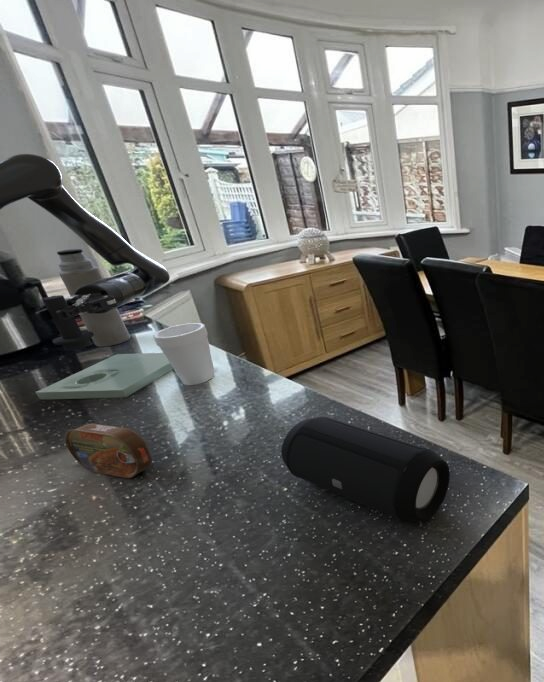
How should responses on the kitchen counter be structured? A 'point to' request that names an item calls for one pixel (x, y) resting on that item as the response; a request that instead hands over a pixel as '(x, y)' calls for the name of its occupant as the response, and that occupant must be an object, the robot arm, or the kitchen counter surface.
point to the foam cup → (187, 351)
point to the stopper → (66, 326)
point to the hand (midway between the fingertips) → (49, 316)
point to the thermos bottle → (103, 325)
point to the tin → (109, 450)
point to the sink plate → (110, 377)
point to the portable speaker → (368, 467)
